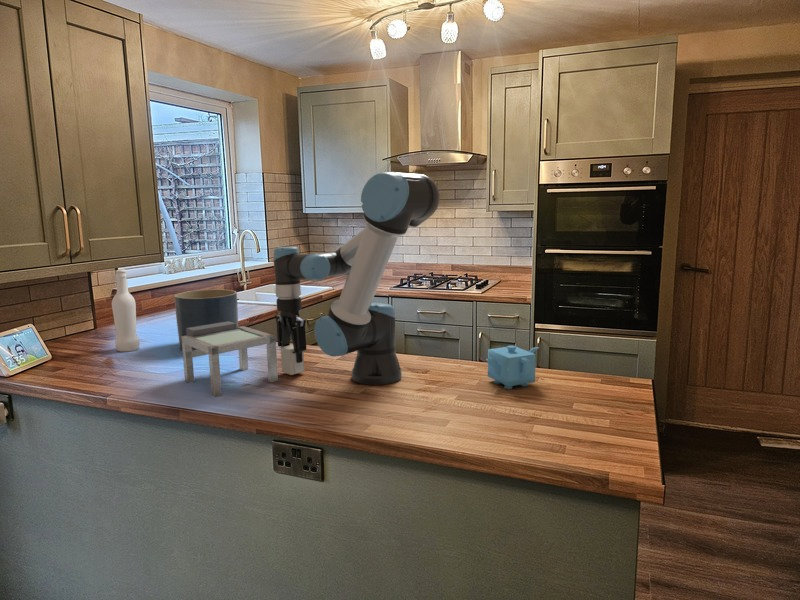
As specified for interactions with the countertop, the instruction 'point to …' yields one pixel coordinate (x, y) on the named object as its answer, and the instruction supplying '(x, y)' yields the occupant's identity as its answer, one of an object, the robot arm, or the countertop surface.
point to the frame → (215, 350)
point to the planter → (204, 309)
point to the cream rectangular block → (289, 359)
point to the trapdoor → (219, 333)
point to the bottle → (124, 315)
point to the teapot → (512, 366)
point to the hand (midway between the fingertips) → (293, 370)
